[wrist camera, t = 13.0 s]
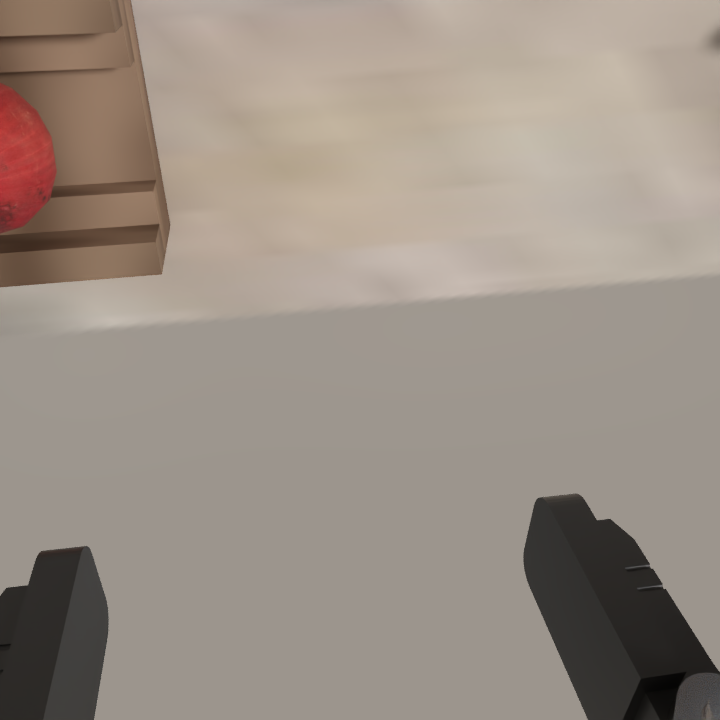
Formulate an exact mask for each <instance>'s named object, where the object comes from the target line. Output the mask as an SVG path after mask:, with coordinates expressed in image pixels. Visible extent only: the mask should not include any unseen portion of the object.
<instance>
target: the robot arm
mask: <svg viewBox="0 0 720 720" xmlns="http://www.w3.org/2000/svg"><path fill="white" fill-rule="evenodd" d="M524 569H525V574H526V578H527V581H528V584H529V586H530V589H531V591H532V593H533V595H534V598H535V600H536V602H537V605H538V607H539V609H540V611H541V614H542V616H543V618H544V620H545V623H546V625H547V627H548V630H549V632H550V634H551V636H552V639H553V641H554V643H555V646H556V648H557V650H558V652H559V655H560V657H561V659H562V661H563V664H564V666H565V668H566V671H567V673H568V675H569V677H570V680H571V682H572V684H573V687H574V689H575V691H576V693H577V696H578V698H579V700H580V702H581V705H582V707H583V709H584V712H585V714H586V716H587V718H588V720H720V672H719V671H718V669H717V668H716V667H715V665H714V664H713V662H712V661H711V659H710V658H709V656H708V655H707V653H706V652H705V650H704V648H703V647H702V645H701V644H700V642H699V641H698V639H697V637H696V636H695V634H694V633H693V631H692V629H691V628H690V626H689V625H688V623H687V622H686V620H685V618H684V617H683V616H682V614H681V612H680V611H679V609H678V608H677V606H676V605H675V603H674V601H673V600H672V598H671V596H670V595H669V593H668V592H667V590H666V589H663V587H662V583H661V581H660V579H659V578H658V576H657V575H656V573H655V571H654V570H653V569H651V568H650V564H649V562H648V560H647V559H646V557H645V556H644V554H643V553H642V551H641V549H640V548H639V546H638V545H637V543H636V542H635V540H634V539H633V538H632V537H631V536H630V535H628V534H627V533H626V532H625V531H624V530H622V529H621V528H620V527H619V526H618V525H617V524H615V523H614V522H613V521H612V520H611V519H606V520H596V518H595V517H594V515H593V513H592V511H591V510H590V508H589V507H588V505H587V503H586V502H585V500H584V499H583V497H582V496H580V495H579V494H569V495H559V496H550V497H541V498H538V499H537V500H536V502H535V505H534V509H533V513H532V518H531V522H530V526H529V531H528V535H527V539H526V544H525V548H524ZM107 637H108V607H107V601H106V597H105V594H104V591H103V588H102V585H101V581H100V578H99V576H98V572H97V569H96V565H95V562H94V559H93V556H92V553H91V550H90V548H89V547H87V546H84V547H74V548H66V549H56V550H47V551H41V552H40V553H39V554H38V556H37V558H36V561H35V564H34V567H33V571H32V574H31V577H30V581H29V584H28V586H19V587H10V588H6V589H5V591H4V592H3V593H2V594H1V596H0V720H94V716H95V709H96V703H97V698H98V691H99V686H100V680H101V674H102V668H103V662H104V656H105V649H106V643H107Z"/></svg>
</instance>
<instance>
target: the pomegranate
mask: <svg viewBox="0 0 720 720" xmlns="http://www.w3.org/2000/svg"><path fill="white" fill-rule="evenodd" d="M56 173H57V169H56V163H55V156H54V149H53V143H52V137H51V135H50V133H49V131H48V129H47V128H46V126H45V124H44V122H43V121H42V119H41V117H40V115H39V113H38V112H37V110H36V109H35V108H34V107H32V106H31V105H30V104H29V103H28V102H27V101H26V100H25V99H24V98H22V97H21V96H20V95H19V94H18V93H17V92H16V91H15V90H14V89H12V88H11V87H9V86H6V85H4V84H2V83H0V234H1V233H4V232H7V231H10V230H14V229H17V228H20V227H23V226H24V225H25V224H26V223H28V222H29V221H30V220H31V219H32V218H33V216H34V215H35V214H36V213H37V212H38V211H39V210H40V209H41V208H42V207H43V206H44V205H45V204H46V203H47V202H48V201H49V200H50V197H51V193H52V189H53V185H54V181H55V177H56Z"/></svg>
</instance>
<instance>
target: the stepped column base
mask: <svg viewBox="0 0 720 720" xmlns="http://www.w3.org/2000/svg"><path fill="white" fill-rule="evenodd" d="M0 83H2V84H4V85H6V86H9V87H11V88H12V89H14V90H15V91H16V92H17V93H18V94H19V95H20V96H21V97H22V98H24V99H25V100H26V101H27V102H28V103H29V104H30V105H31V106H32V107H34V108H35V109H36V110H37V112H38V113H39V115H40V117H41V119H42V121H43V122H44V124H45V126H46V128H47V129H48V131H49V133H50V135H51V137H52V143H53V149H54V156H55V163H56V169H57V173H56V177H55V181H54V185H53V189H52V193H51V197H50V200H49V201H48V202H47V203H46V204H45V205H44V206H43V207H42V208H41V209H40V210H39V211H38V212H37V213H36V214H35V215H34V216H33V218H32V219H31V220H30V221H29V222H28V223H26V224H25V225H24V226H23V227H20V228H17V229H14V230H10V231H7V232H4V233H1V234H0V287H9V286H21V285H34V284H46V283H59V282H71V281H84V280H96V279H109V278H121V277H134V276H146V275H159V274H162V270H163V264H164V259H165V253H166V247H167V242H168V236H169V230H170V221H169V215H168V210H167V204H166V198H165V193H164V187H163V181H162V176H161V170H160V164H159V159H158V153H157V147H156V141H155V136H154V130H153V124H152V119H151V113H150V107H149V102H148V96H147V90H146V85H145V79H144V73H143V67H142V62H141V56H140V50H139V45H138V39H137V33H136V28H135V22H134V16H133V11H132V5H131V0H0Z"/></svg>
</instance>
